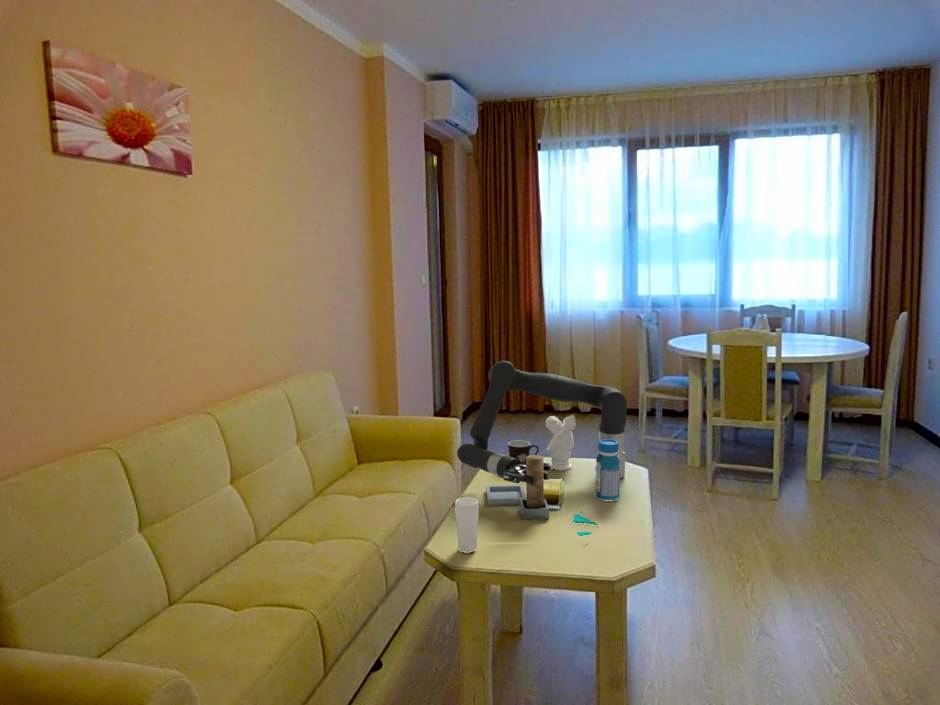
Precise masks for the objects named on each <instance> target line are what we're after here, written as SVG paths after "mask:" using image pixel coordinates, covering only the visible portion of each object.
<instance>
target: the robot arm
mask: <svg viewBox="0 0 940 705" xmlns="http://www.w3.org/2000/svg"><path fill="white" fill-rule="evenodd" d="M487 377H488V381H489V385H488V389H487V392H486V394H485V397H484V400H483V402H482V403H481V405H480V407H479V409H478V412H477V413H476V416H475V418H474V420H473V422H472V426H471V428H470V430H469V436H470V437H471V439H472V440H473V444H472V443H463V444H461V445H460V446H459V447H458V449H457V451H456V456H457V459H458V461H460V462H461V463H463V464H464V465H467V466H469V467H471V468H474V469H480V470H482V471H484V472H486V473H489V474H492V475H493V476H496V477H499V478H501V479H503V481H507V482H510V483H514V484H520V483H526V482H527V483H529V484H532V485H533V484H535V478H534V477H531V476H528V475H526V465H523V464H521V463H520V462H519V460H518V459H516V458H513V457H510V456H509V455H506V454H502V453H497V452H495V451H490V450H488V447H489V438H490V435H491V434H492V433H491V432H492V430H493V427H494V424H495V422H496V419H497V417H498V413H499V410H500V408H501V405H502V402H503V401H504V398H505V396H506V394H507V392H508V391H509V390H512V391H520V392H524V393H528V394H532V395H534V396H538V397H542V398H546V399H548V400H553V401H557V402H562V403H584V404H588V405H592V406H594V407H597V408H599V409H601V417H600V418H601V420H600V422H599V424H598V442H599V441H600V440H604V439H611V440H616V441H618V443H619V450H618V452H617V454H618V456H619V458H620V461H621V462H620V464H619V465H620V467H621V471H620V479H621V478H622V477H623V478H624V477H625V476H626V452H625V427H626V425H627V415H628V414H627V413H628V411H627V410H628V402H627V398H626V395H624V393H623V392H621V391H620V390H619V389H618V388H616V387H614V386H613V387H612V386H605V385H595V384H591V383H590V384H589V383H586V382H583V381H579V380H576V379H574V378H571V377H567V376H564V375H558V374H554V373H548V372H546V373H544V372H528V371H522V370H519V369H516V368H515V366H514V365H513V363H512V362H510V361H507V360H500V361H497V362H495V363H494V364H493V366H491V368H490V369H489V370H488V375H487ZM599 453H600V452H599V451H598V454H599ZM543 476H544V481H547V480H548V479H549V474H548V472H546V471H543ZM623 478H622V479H623Z"/></svg>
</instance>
